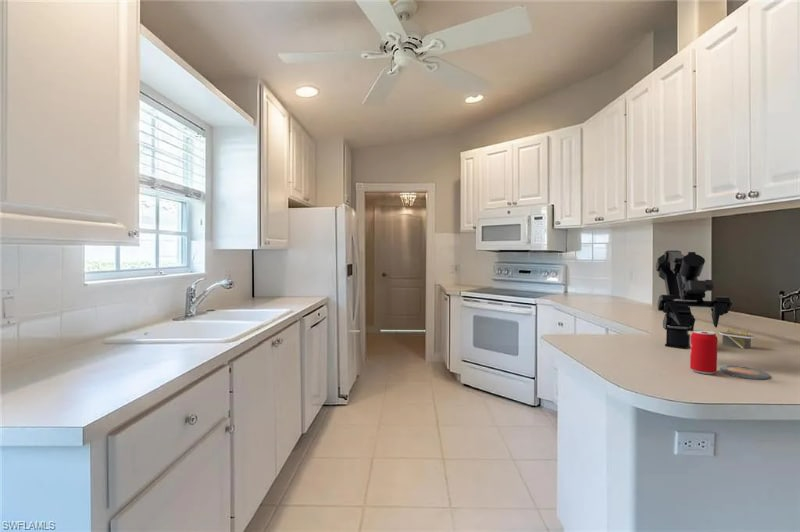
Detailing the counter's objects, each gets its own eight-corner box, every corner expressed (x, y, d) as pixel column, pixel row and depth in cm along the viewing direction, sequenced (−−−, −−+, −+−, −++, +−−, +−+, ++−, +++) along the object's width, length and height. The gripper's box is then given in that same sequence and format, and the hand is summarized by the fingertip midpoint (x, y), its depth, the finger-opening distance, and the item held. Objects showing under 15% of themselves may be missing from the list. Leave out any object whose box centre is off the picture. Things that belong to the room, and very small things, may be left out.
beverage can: (712, 370, 117) (714, 330, 116) (719, 376, 111) (720, 334, 111) (687, 367, 120) (688, 328, 119) (692, 373, 114) (693, 333, 113)
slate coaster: (716, 373, 114) (716, 371, 114) (721, 365, 122) (722, 363, 122) (768, 382, 106) (768, 379, 106) (770, 372, 114) (770, 370, 114)
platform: (766, 356, 132) (767, 337, 132) (701, 346, 146) (701, 329, 146) (771, 349, 140) (772, 331, 140) (708, 341, 154) (709, 324, 153)
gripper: (659, 270, 129) (666, 308, 119) (730, 271, 121) (744, 311, 112) (654, 291, 136) (660, 329, 127) (721, 293, 129) (732, 333, 119)
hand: (697, 325), depth 121 cm, fingers open, 9 cm apart
